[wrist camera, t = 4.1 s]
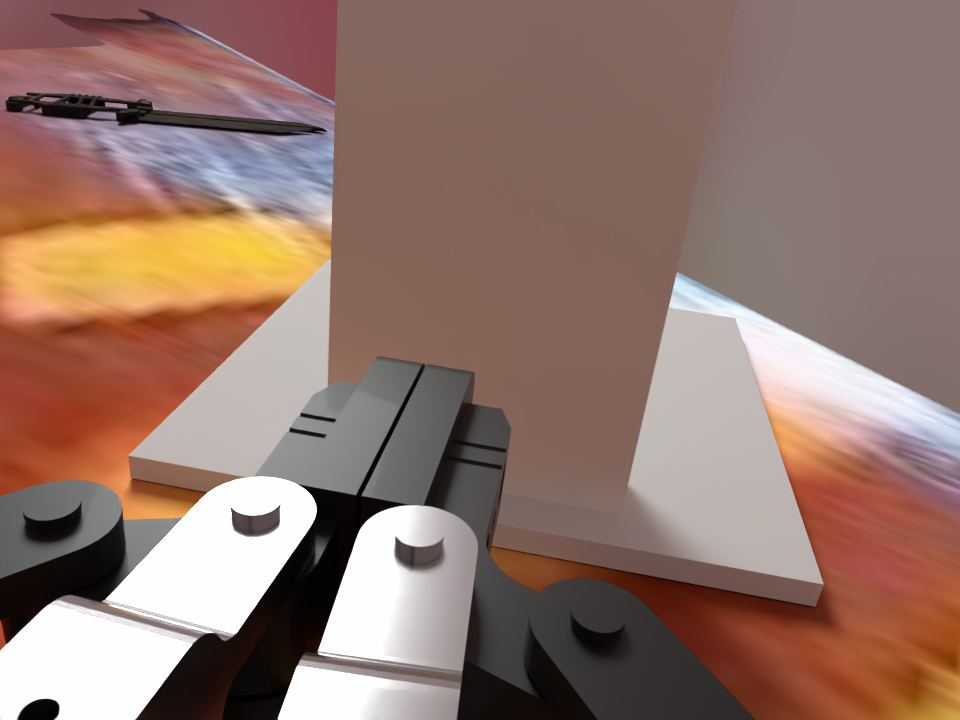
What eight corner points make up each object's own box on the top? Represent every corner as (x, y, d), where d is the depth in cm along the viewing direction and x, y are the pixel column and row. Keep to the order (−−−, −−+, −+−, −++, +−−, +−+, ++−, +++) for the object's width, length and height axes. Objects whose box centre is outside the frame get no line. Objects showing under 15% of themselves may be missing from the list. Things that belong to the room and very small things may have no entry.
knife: (329, 136, 71) (329, 120, 71) (315, 152, 65) (316, 134, 65) (37, 103, 70) (35, 86, 70) (-3, 116, 64) (-6, 98, 64)
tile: (325, 461, 25) (340, -104, 18) (345, 427, 26) (366, -97, 20) (620, 514, 24) (751, -57, 17) (621, 476, 26) (739, -54, 19)
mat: (130, 478, 24) (128, 455, 24) (332, 269, 41) (333, 255, 41) (815, 607, 22) (824, 584, 22) (731, 333, 39) (735, 318, 39)
